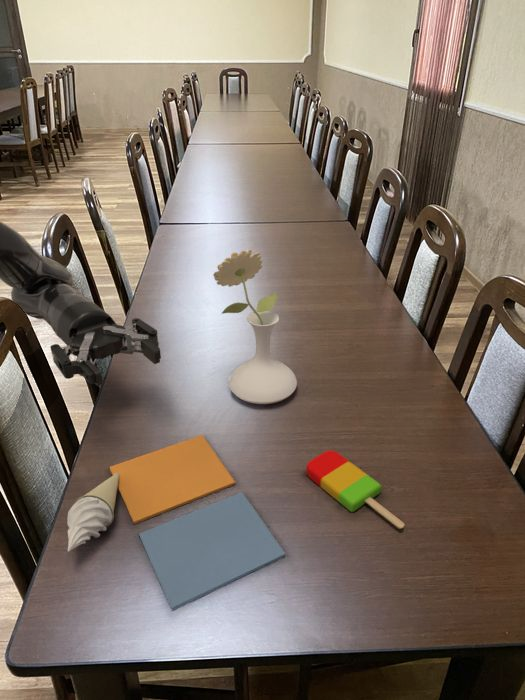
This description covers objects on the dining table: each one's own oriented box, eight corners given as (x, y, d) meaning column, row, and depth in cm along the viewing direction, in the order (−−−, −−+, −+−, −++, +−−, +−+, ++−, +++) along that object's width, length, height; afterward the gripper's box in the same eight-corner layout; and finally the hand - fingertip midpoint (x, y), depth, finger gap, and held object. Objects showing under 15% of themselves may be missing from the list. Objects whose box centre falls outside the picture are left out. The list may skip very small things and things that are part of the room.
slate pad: (171, 610, 57) (171, 608, 56) (139, 536, 65) (138, 533, 65) (285, 556, 62) (285, 553, 62) (242, 494, 71) (242, 491, 70)
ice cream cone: (136, 461, 71) (90, 538, 57) (135, 492, 73) (89, 575, 59) (99, 455, 71) (44, 530, 57) (99, 486, 73) (45, 567, 59)
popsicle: (330, 456, 77) (331, 446, 76) (416, 521, 67) (418, 510, 66) (302, 473, 74) (302, 463, 73) (387, 544, 64) (389, 533, 63)
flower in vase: (290, 369, 96) (295, 234, 83) (302, 408, 86) (309, 262, 73) (217, 374, 95) (210, 237, 82) (221, 414, 85) (213, 266, 72)
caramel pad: (134, 524, 66) (133, 521, 66) (109, 469, 74) (109, 466, 74) (235, 484, 72) (235, 481, 72) (202, 437, 80) (202, 434, 80)
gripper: (28, 315, 77) (73, 362, 66) (119, 289, 85) (173, 328, 74) (39, 359, 81) (83, 411, 70) (126, 330, 89) (177, 373, 78)
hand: (129, 368), depth 72 cm, fingers open, 8 cm apart
